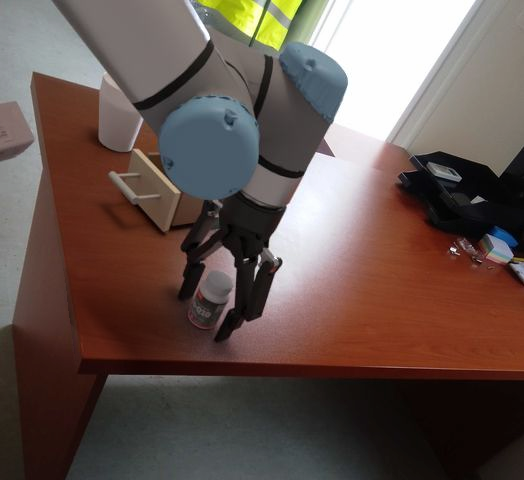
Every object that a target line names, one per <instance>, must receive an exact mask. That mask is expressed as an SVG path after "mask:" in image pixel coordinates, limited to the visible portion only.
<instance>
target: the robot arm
mask: <svg viewBox="0 0 524 480" xmlns="http://www.w3.org/2000/svg"><path fill="white" fill-rule="evenodd" d="M50 1H51V2H52V3H53V5H54V6H55V7H56V9H57V10H58V11H59V12H60V14H61V15H62V16H63V18H64V20H65V21H67V23H68V24H69V25H70V27H71V28H72V30H74V32H75V33H76V35H77V36H78V37H79V39H81V41H82V42H83V43H84V44H85V46H86V47H87V48H88V50H89V51H90V52H91V54H92V55H93V56H94V57H95V60H97V62H99V64H100V65H101V67H102V68H103V69H104V70H105V72H107V73H108V74H109V75H110V76H111V78H112V79H113V80H114V82H115V83H116V84H117V85H118V87H119V88H120V89H121V91H122V92H123V93H124V94H125V96H126V97H127V98H128V100H129V101H130V102H131V103H132V105H133V106H134V107H135V108H136V110H137V111H138V112H139V114H140V115H141V116H142V118H143V122H145V123H146V125H147V126H148V127H149V129H150V130H151V132H153V134H154V135H155V136H156V137H157V139H158V140H157V150H158V152H159V153H160V155H161V161H162V164H163V167H164V170H165V172H166V174H167V176H168V177H169V179H170V180H171V181H172V182H173V184H174V185H175V186H176V187H178V188H179V189H180V190H182V191H183V192H185V193H186V194H188V195H190V196H193V197H196V198H199V199H205V200H204V202H203V206H202V210H201V214H200V215H199V217H198V218H197V220H196V222H195V223H193V225H192V226H191V228H190V230H189V232H187V234H186V236H185V238H184V240H183V241H182V243H181V244H180V251H181V253H184V254H185V255H186V258H185V259H186V264H185V266H184V269H183V272H182V277H183V281H182V284H181V286H180V289H179V291H178V294H177V296H176V298H177V299H178V300H179V301H184V300H185V299H190V298H192V297H193V298H194V297H195V296H194V295H195V293H196V292H197V289H198V287H199V283H200V281H201V279H202V276H203V274H204V272H205V269H206V267H207V265H206V264H205V263H204V262H202V261H207V258H209V257H210V256H211V255H213V254H214V253H215V252H217V251H218V250H219V249H221V248H222V247H223V248H224V249H226V250H228V251H229V253H230V255H231V256H232V257H233V259H234V261H233V267H234V269H236V270H235V272H236V273H235V286H234V287H235V289H234V305H233V307H231V308H228V310H227V312H226V315H225V316H224V318H223V320H222V322H221V324H220V326H219V328H218V330H217V331H216V334H215V336H214V338H213V340H214V342H215V343H217V344H218V343H220V342H222V341H225V340H227V339H229V338H231V336H232V334H233V333H234V331H236V330H239V329H241V328H242V326H243V324H244V322H246V323H250V322H252V321H255V320H258V319H260V318H262V316H263V313H264V311H265V307H266V304H267V300H268V298H269V294H270V291H271V288H272V285H273V282H274V278H275V276H276V273H277V272H278V271H279V269H280V268H281V267H282V266H283V263H284V261H283V259H282V257H280V256H277V257H275V256H274V254H273V253H272V252H271V251H270V249H269V248H270V240H271V237H272V236H273V235H274V233H275V232H276V231H277V229H278V227H279V225H280V223H281V222H282V220H283V217H284V216H285V214H286V212H287V208H288V205H289V204H290V203H291V201H292V199H293V198H294V195H295V193H296V192H297V189H298V188H299V186H300V184H301V182H302V180H303V179H304V176H305V174H306V172H307V170H308V167H309V165H310V164H311V162H312V160H313V158H314V156H315V155H316V153H317V151H318V149H319V147H321V146H320V145H321V144H322V142H323V140H324V138H325V137H326V135H327V133H328V131H329V129H330V128H331V125H333V123H334V122H335V118H336V116H337V114H338V112H339V109H340V107H341V104H342V103H343V101H344V97H345V95H346V94H347V90H348V87H349V83H350V82H349V75H348V73H347V72H346V70H345V68H344V67H343V66H342V65H341V64H340V62H339V63H338V61H337V60H335V59H334V58H333V57H331V56H329V55H328V54H326V53H325V52H323V51H321V50H319V49H317V48H316V47H314V46H312V45H309V44H305V43H303V42H301V41H297V40H294V41H290V42H288V43H287V44H286V46H284V49H283V51H282V52H281V53H280V54H279V56H278V58H277V57H275V56H272V55H268V54H266V53H263V52H261V51H259V50H257V49H254V48H252V47H250V46H249V45H246V44H244V43H242V42H240V41H238V40H236V39H234V38H233V37H230V36H228V35H225V34H224V33H222V32H220V31H217V30H216V29H214V28H212V27H209V26H207V25H206V24H204V23H203V21H202V20H201V18H200V16H199V14H198V13H197V11H196V9H195V8H194V6H193V4H192V2H191V1H190V0H50ZM222 198H224V201H223V202H222ZM218 217H219V226H220V228H218V230H216V231H215V232H213V233H212V234H211V235H210V236H209V238H208V239H207V240H205V239H206V237H207V236H208V234H209V233H210V231H211V228H212V227H213V225H214V224H215V222H216V221H217V219H218ZM204 240H205V241H204ZM259 257H260V260H259ZM257 267H258V269H257V271H256V268H257Z"/></svg>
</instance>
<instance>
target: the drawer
mask: <svg viewBox="0 0 524 480" xmlns="http://www.w3.org/2000/svg"><path fill="white" fill-rule="evenodd" d="M107 177H108V179H109V180H110V181H111V182H112V184H114V185H115V187H116V188H117V189H118V190H119V191H120V192H121V193H122V194H123V195H124V197H126V199H127V200H128V201H129V202H130V203H131V205H138V206H139V207H140V208H141V209H142V211H144V213H145V214H146V215H147V216H148V217H149V218H150V220H152V221H153V222H154V224H155V225H156V226H157V227H158V229H160V230H161V231H162V232H168V231H169V230H170V228H171V226H172V227H176V226H181V225H188V224H194V223H195V222H196V220H197V218H198V217H199V215H200V214H201V210H202V206H203V202H204V200H205V199H199V198H196V197H193V196H190V195H188V194H186V193H185V192H183V191H182V190H180V189H179V188H178V187H176V186H175V185H174V184H173V182H172V181H171V180H170V179H169V177H168V176H167V174H166V172H165V170H164V167H163V164H162V161H161V155H160V153H159V151H148V152H146V155H145V154H144V152H143V151H141V150H140V149H139V148H132V149H131V155H130V160H129V165H128V168H127V172H126V173H117V172H116V171H114V170H112V171H110V172H109V173H108V174H107ZM124 179H125V181H124Z"/></svg>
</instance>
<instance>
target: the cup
mask: <svg viewBox="0 0 524 480" xmlns="http://www.w3.org/2000/svg"><path fill="white" fill-rule="evenodd" d="M98 93H99V94H98V95H99V96H98V99H99V100H98V140H99V142H100V143H101V144H102V145H103V146H105V147H106V148H108V149H109V150H112V151H114V152H118V153H128V152H131V151H132V150H133V147H134V144H135V142H136V140H137V137H138V135H139V132H140V129H141V127H142V124H143V122H144V119H143V118H142V116H141V115H140V114H139V112H138V111H137V110H136V108H135V107H134V106H133V105H132V103H131V102H130V101H129V100H128V98H127V97H126V96H125V94H124V93H123V92H122V91H121V89H120V88H119V87H118V85H117V84H116V83H115V82H114V80H113V79H112V78H111V76H110V75H109V74H108V73H107V71H105V72H103V74H102V79H101V83H100V88H99V92H98Z"/></svg>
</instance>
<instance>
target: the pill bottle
mask: <svg viewBox="0 0 524 480" xmlns="http://www.w3.org/2000/svg"><path fill="white" fill-rule="evenodd" d="M234 287H235V281H234V279H233V278H232V276H231V275H230V274H229V273H227V272H226V271H223V270H219V269H214V270H210V271H209V272H208V273H207V276H206V277H205V279H204V280H202V282H201V283H200V285H198V288H197V290H196V292H195V293H196V294H195V296H194V297H193V300H192V303H191V304H190V307H189V309H188V313H187V316H188V319H189V321H190V322H191V323H192V324H193V325H194V326H196V327H197V328H199V329H203V330H208V329H209V330H210V329H213V328H215V327H216V326H217V325H218V322H219V320H220V318H221V316H222V315H223V312H224V310H225V309H226V307H227V305H228V303H229V301H230V299H231V295H232V294H231V293H232V291H233V289H234Z"/></svg>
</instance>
